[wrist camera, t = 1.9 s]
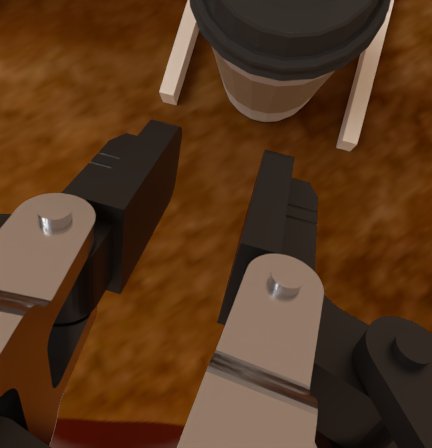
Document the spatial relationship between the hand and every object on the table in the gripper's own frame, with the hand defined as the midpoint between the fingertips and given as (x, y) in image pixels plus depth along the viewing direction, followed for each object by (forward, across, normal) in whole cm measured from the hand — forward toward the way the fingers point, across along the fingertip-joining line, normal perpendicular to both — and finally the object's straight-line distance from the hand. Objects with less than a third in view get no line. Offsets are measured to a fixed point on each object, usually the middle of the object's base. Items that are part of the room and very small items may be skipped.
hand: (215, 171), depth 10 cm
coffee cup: (+27, 0, +7) cm, 28 cm away
